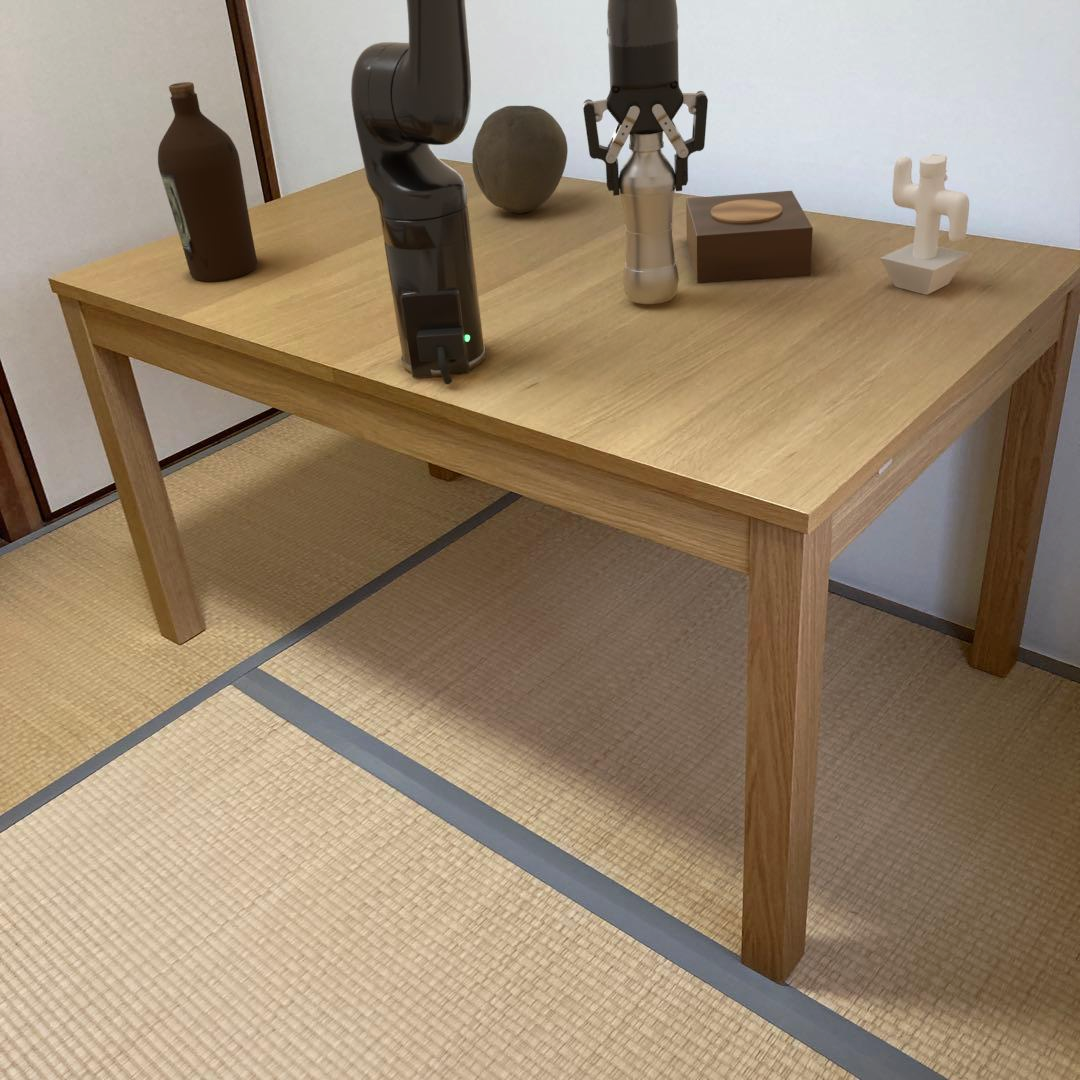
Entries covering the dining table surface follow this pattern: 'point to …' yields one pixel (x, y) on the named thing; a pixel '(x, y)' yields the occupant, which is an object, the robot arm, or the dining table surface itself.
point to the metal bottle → (648, 221)
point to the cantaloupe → (519, 157)
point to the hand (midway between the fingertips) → (647, 191)
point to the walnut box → (748, 236)
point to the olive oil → (205, 192)
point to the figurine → (927, 226)
